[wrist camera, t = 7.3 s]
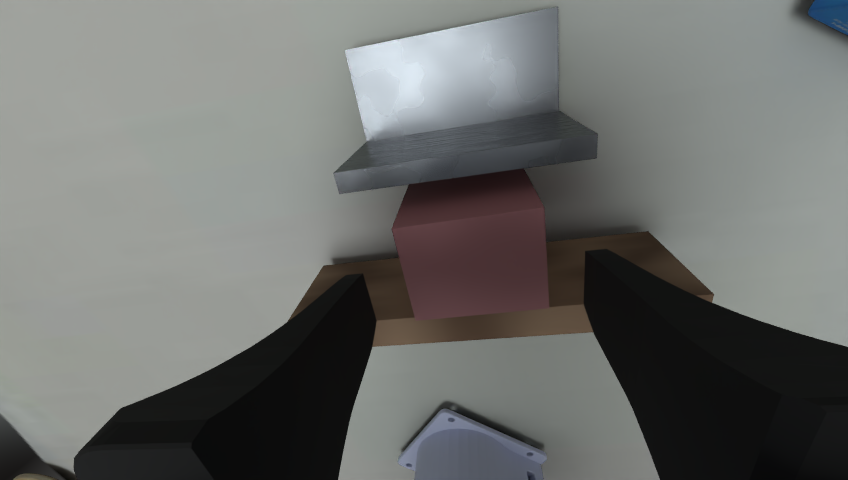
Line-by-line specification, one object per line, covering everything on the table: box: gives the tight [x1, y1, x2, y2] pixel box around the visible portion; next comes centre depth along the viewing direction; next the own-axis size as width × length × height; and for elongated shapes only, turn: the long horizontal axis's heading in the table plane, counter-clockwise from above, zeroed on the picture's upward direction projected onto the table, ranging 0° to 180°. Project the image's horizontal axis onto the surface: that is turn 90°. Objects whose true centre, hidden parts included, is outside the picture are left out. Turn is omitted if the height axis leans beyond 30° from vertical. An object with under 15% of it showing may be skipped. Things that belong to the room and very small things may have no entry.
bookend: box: [334, 7, 598, 194], centre depth 14 cm, size 9×5×6 cm, turn 100°
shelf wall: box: [288, 231, 714, 347], centre depth 18 cm, size 18×2×6 cm, turn 100°
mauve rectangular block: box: [392, 168, 549, 321], centre depth 16 cm, size 5×4×7 cm
